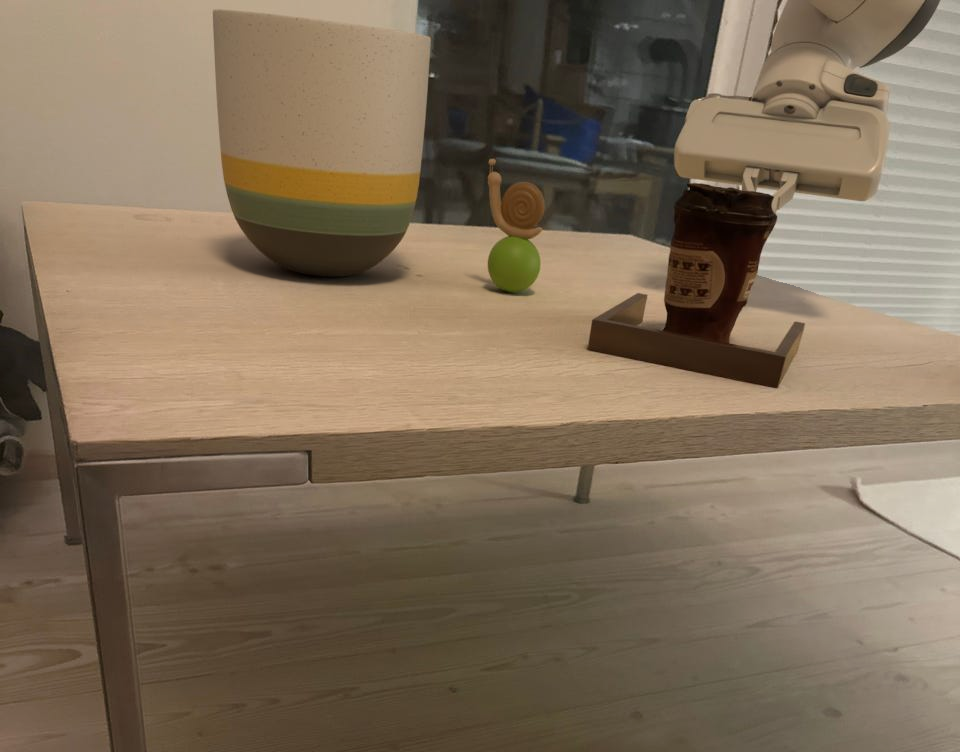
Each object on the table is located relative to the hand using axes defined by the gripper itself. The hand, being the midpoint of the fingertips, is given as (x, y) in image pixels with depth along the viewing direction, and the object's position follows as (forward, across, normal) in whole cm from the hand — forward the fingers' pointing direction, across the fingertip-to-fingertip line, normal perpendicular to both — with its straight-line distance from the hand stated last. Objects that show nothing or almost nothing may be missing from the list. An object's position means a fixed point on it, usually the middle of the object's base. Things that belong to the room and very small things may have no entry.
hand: (758, 216), depth 90 cm
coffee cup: (+18, -1, -4) cm, 19 cm away
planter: (+17, -40, -4) cm, 44 cm away
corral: (+19, -1, -5) cm, 19 cm away
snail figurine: (+12, -23, +2) cm, 26 cm away
